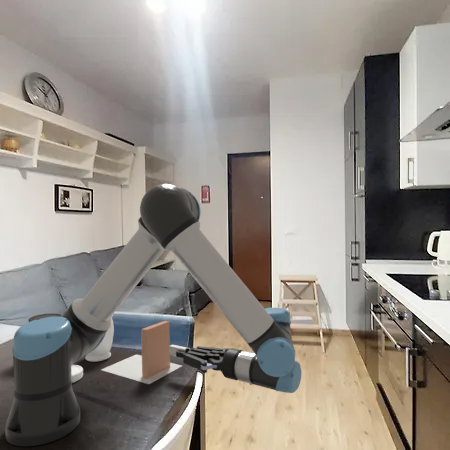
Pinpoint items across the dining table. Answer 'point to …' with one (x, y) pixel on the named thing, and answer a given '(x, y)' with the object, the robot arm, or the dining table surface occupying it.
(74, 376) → the white bowl
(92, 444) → the dining table surface
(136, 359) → the mat
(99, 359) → the jar
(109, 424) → the dining table surface
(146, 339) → the tile
